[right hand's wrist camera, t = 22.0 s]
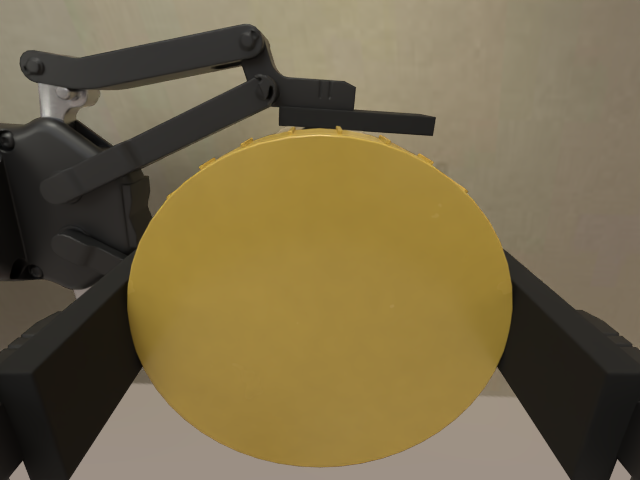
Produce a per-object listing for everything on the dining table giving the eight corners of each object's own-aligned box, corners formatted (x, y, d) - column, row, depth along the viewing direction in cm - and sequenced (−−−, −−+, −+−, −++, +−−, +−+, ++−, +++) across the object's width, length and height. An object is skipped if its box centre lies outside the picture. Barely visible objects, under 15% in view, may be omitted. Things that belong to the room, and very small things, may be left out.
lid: (279, 36, 9) (271, 24, 8) (560, 271, 11) (599, 299, 10) (93, 326, 12) (59, 360, 11) (345, 467, 14) (348, 513, 13)
